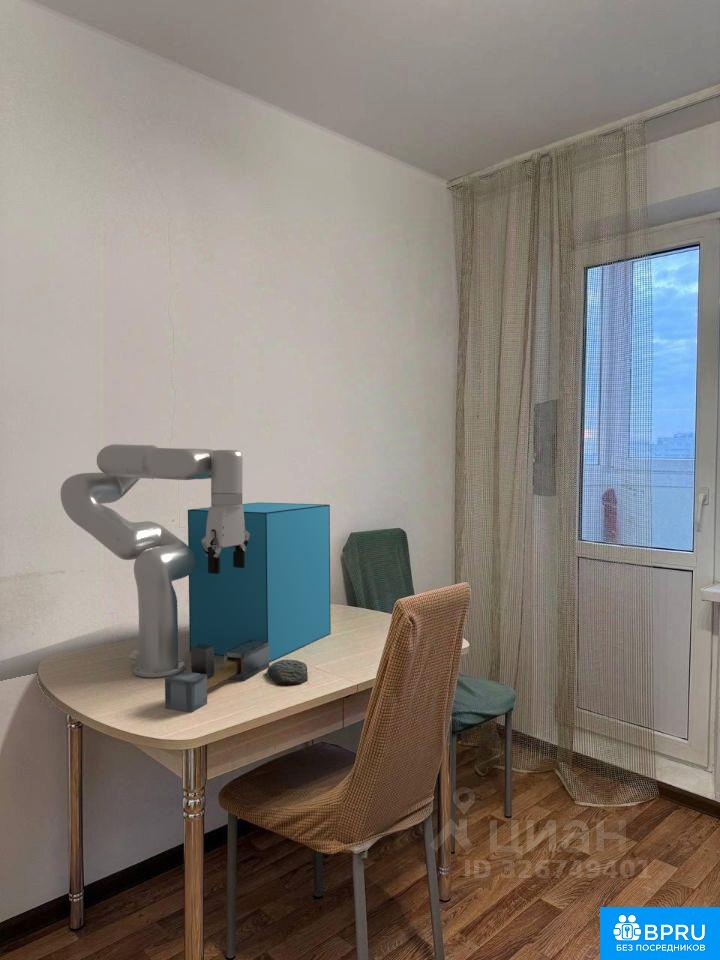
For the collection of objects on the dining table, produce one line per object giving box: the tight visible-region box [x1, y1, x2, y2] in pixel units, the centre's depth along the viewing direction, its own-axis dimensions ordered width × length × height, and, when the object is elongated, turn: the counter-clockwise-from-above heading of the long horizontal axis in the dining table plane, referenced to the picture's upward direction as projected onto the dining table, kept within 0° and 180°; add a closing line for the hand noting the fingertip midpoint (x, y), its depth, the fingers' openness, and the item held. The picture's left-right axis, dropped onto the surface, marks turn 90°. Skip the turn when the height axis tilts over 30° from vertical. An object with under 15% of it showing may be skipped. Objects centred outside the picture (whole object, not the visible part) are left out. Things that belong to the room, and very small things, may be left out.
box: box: [187, 502, 332, 664], centre depth 197 cm, size 27×33×40 cm
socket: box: [164, 670, 208, 713], centre depth 147 cm, size 7×6×6 cm
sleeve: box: [223, 640, 270, 682], centre depth 170 cm, size 6×12×6 cm, turn 157°
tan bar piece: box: [190, 644, 241, 690], centre depth 156 cm, size 4×22×9 cm, turn 157°
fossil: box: [266, 659, 309, 687], centre depth 166 cm, size 10×13×4 cm
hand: (226, 570), depth 164 cm, fingers open, 9 cm apart
